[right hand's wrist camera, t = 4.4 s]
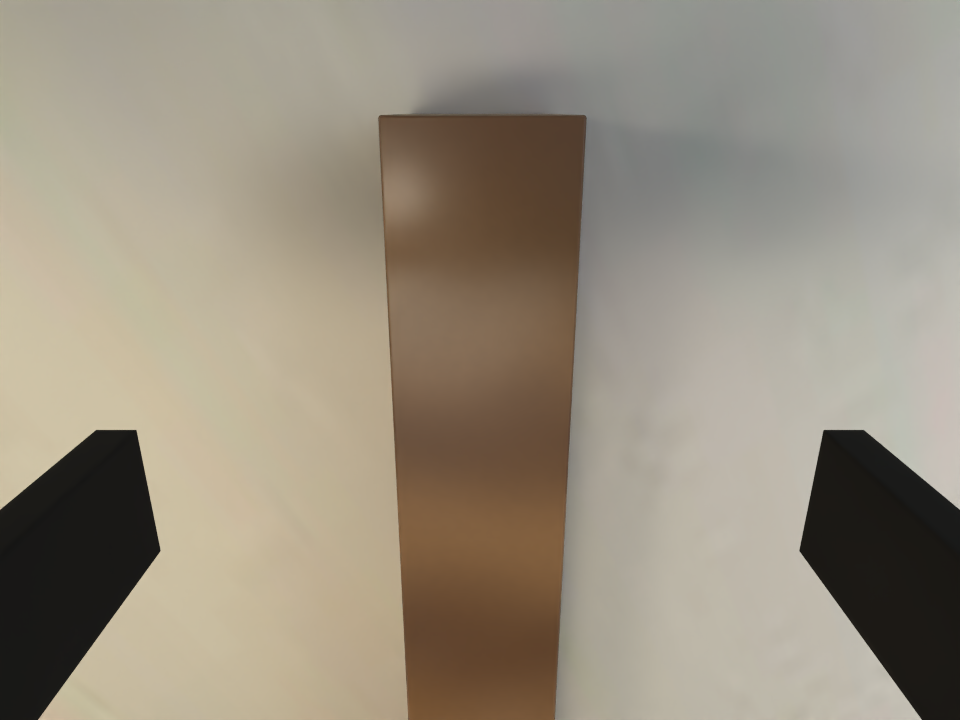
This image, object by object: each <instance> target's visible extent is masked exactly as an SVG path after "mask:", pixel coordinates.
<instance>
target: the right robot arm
mask: <svg viewBox="0 0 960 720" xmlns="http://www.w3.org/2000/svg"><path fill="white" fill-rule="evenodd" d="M159 552H160V546H159V541H158V536H157V531H156V526H155V521H154V516H153V511H152V506H151V501H150V496H149V491H148V486H147V481H146V476H145V471H144V466H143V461H142V456H141V451H140V446H139V441H138V436H137V431H136V430H96V431H95V432H93V433H92V434H91V435H90V436H89V437H87V438H86V439H85V440H84V441H83V442H81V443H80V444H79V445H78V446H76V447H75V448H74V449H73V450H72V451H70V452H69V453H68V454H67V455H66V456H64V457H63V458H62V459H61V460H60V461H58V462H57V463H56V464H55V465H54V466H52V467H51V468H50V469H49V470H48V471H46V472H45V473H44V474H43V475H42V476H40V477H39V478H38V479H37V480H36V481H34V482H33V483H32V484H31V485H30V486H28V487H27V488H26V489H25V490H24V491H22V492H21V493H20V494H19V495H18V496H16V497H15V498H14V499H13V500H12V501H10V502H9V503H8V504H7V505H6V506H4V507H3V508H2V509H1V510H0V720H38V719H39V718H40V716H41V715H42V713H43V712H44V711H45V709H46V708H47V707H48V705H49V704H50V702H51V701H52V700H53V698H54V697H55V696H56V694H57V693H58V691H59V690H60V689H61V687H62V686H63V685H64V683H65V682H66V680H67V679H68V678H69V676H70V675H71V674H72V672H73V671H74V669H75V668H76V667H77V665H78V664H79V663H80V661H81V660H82V658H83V657H84V656H85V654H86V653H87V651H88V650H89V649H90V647H91V646H92V645H93V643H94V642H95V640H96V639H97V638H98V636H99V635H100V634H101V632H102V631H103V629H104V628H105V627H106V625H107V624H108V623H109V621H110V620H111V618H112V617H113V616H114V614H115V613H116V612H117V610H118V609H119V607H120V606H121V605H122V603H123V602H124V601H125V599H126V598H127V596H128V595H129V594H130V592H131V591H132V590H133V588H134V587H135V585H136V584H137V583H138V581H139V580H140V579H141V577H142V576H143V574H144V573H145V572H146V570H147V569H148V567H149V566H150V565H151V563H152V562H153V561H154V559H155V558H156V556H157V555H158V554H159ZM800 552H801V554H802V555H803V556H804V558H805V559H806V561H807V562H808V563H809V565H810V566H811V567H812V569H813V570H814V572H815V573H816V574H817V576H818V577H819V579H820V580H821V581H822V583H823V584H824V585H825V587H826V588H827V590H828V591H829V592H830V594H831V595H832V596H833V598H834V599H835V601H836V602H837V603H838V605H839V606H840V607H841V609H842V610H843V612H844V613H845V614H846V616H847V617H848V618H849V620H850V621H851V623H852V624H853V625H854V627H855V628H856V629H857V631H858V632H859V634H860V635H861V636H862V638H863V639H864V640H865V642H866V643H867V645H868V646H869V647H870V649H871V650H872V651H873V653H874V654H875V656H876V657H877V658H878V660H879V661H880V663H881V664H882V665H883V667H884V668H885V669H886V671H887V672H888V674H889V675H890V676H891V678H892V679H893V680H894V682H895V683H896V685H897V686H898V687H899V689H900V690H901V691H902V693H903V694H904V696H905V697H906V698H907V700H908V701H909V702H910V704H911V705H912V707H913V708H914V709H915V711H916V712H917V713H918V715H919V716H920V718H921V719H922V720H960V510H959V509H958V508H957V507H956V506H954V505H953V504H952V503H951V502H950V501H948V500H947V499H946V498H945V497H944V496H942V495H941V494H940V493H939V492H938V491H936V490H935V489H934V488H933V487H932V486H930V485H929V484H928V483H927V482H926V481H924V480H923V479H922V478H921V477H920V476H918V475H917V474H916V473H915V472H914V471H912V470H911V469H910V468H909V467H908V466H906V465H905V464H904V463H903V462H902V461H900V460H899V459H898V458H897V457H896V456H894V455H893V454H892V453H891V452H890V451H888V450H887V449H886V448H885V447H883V446H882V445H881V444H880V443H879V442H877V441H876V440H875V439H874V438H873V437H871V436H870V435H869V434H868V433H867V432H865V431H864V430H824V431H823V436H822V441H821V446H820V451H819V456H818V461H817V466H816V471H815V476H814V481H813V486H812V491H811V496H810V501H809V506H808V511H807V516H806V521H805V526H804V531H803V536H802V541H801V546H800Z"/></svg>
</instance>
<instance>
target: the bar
mask: <svg viewBox="0 0 960 720" xmlns="http://www.w3.org/2000/svg"><path fill="white" fill-rule="evenodd" d="M586 119H587V118H586V116H585V115H567V114H396V115H380V116H379V118H378V121H379V141H380V161H381V181H382V201H383V221H384V241H385V261H386V281H387V301H388V321H389V341H390V361H391V381H392V401H393V421H394V441H395V461H396V481H397V501H398V521H399V541H400V561H401V581H402V601H403V621H404V641H405V661H406V681H407V701H408V720H555V705H556V686H557V667H558V649H559V630H560V611H561V592H562V573H563V554H564V535H565V516H566V497H567V478H568V459H569V440H570V422H571V403H572V384H573V365H574V346H575V327H576V308H577V289H578V270H579V251H580V232H581V213H582V195H583V176H584V157H585V138H586Z"/></svg>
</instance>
